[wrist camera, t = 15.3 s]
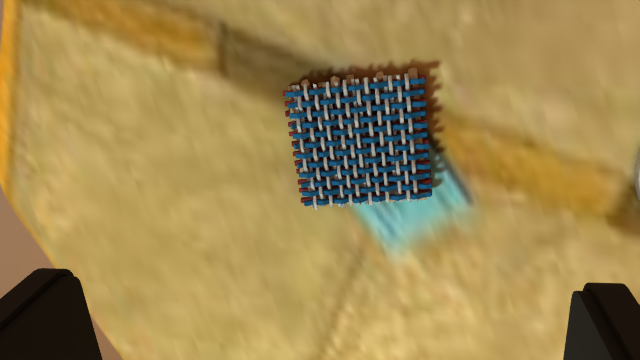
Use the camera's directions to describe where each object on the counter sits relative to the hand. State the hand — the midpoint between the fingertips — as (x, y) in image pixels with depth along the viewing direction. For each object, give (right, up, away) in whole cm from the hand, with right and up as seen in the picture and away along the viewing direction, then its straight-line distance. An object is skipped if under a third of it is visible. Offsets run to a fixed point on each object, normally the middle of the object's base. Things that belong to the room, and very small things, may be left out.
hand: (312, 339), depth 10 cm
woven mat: (+3, +6, +31) cm, 32 cm away
